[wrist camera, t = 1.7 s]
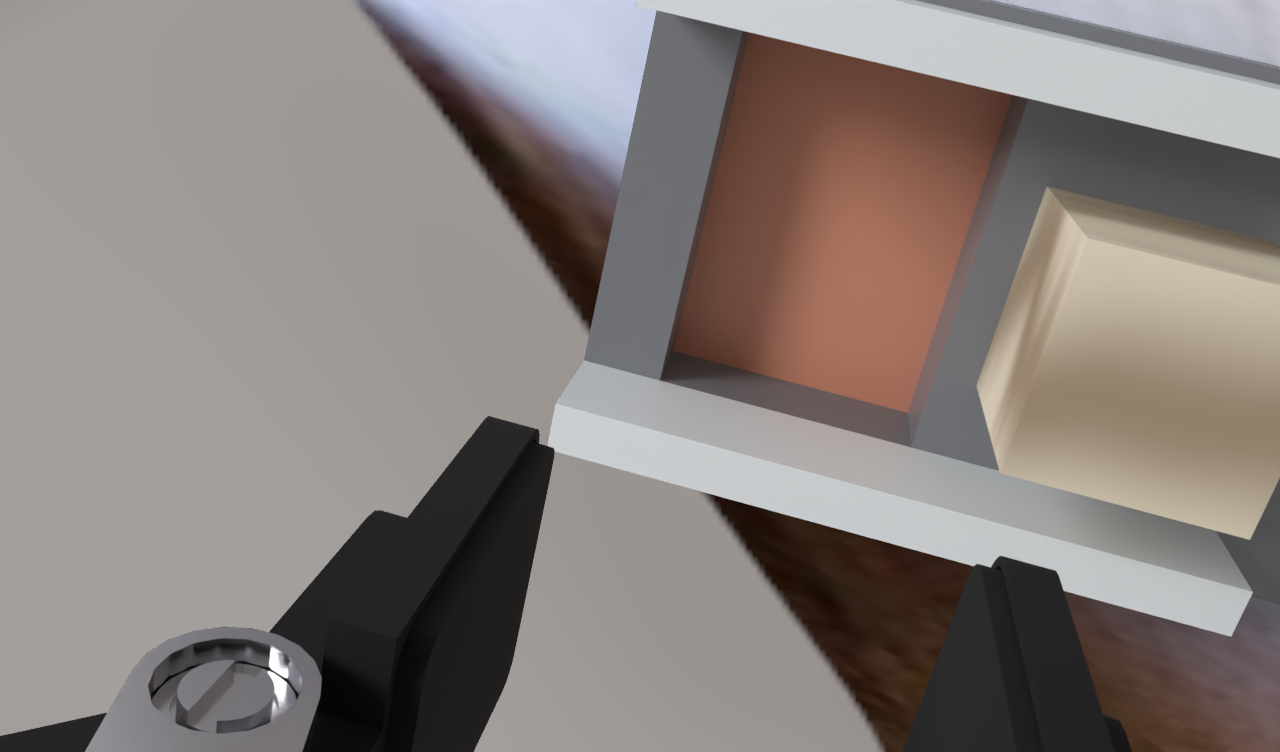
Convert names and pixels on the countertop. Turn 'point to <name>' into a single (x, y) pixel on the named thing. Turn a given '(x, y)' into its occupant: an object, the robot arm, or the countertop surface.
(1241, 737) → the countertop surface
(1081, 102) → the gray tray
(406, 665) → the robot arm
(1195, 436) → the block
